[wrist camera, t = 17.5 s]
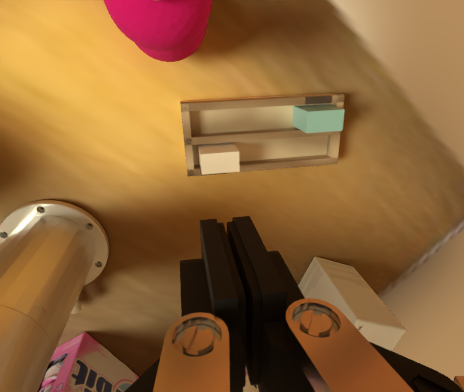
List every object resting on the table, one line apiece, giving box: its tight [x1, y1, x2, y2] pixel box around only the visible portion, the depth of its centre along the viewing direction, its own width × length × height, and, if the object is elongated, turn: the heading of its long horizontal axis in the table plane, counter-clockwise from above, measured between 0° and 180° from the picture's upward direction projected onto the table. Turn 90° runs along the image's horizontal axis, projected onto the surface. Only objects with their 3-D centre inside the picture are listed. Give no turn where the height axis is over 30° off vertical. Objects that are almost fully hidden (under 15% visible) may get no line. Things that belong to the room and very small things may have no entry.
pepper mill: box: [104, 0, 212, 62], centre depth 23 cm, size 7×7×20 cm
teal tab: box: [293, 104, 345, 133], centre depth 35 cm, size 2×4×4 cm, turn 92°
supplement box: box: [298, 256, 406, 351], centre depth 43 cm, size 7×7×13 cm
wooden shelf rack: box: [181, 93, 344, 176], centre depth 36 cm, size 8×18×3 cm, turn 92°
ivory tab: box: [198, 142, 240, 175], centre depth 35 cm, size 2×4×4 cm, turn 92°
